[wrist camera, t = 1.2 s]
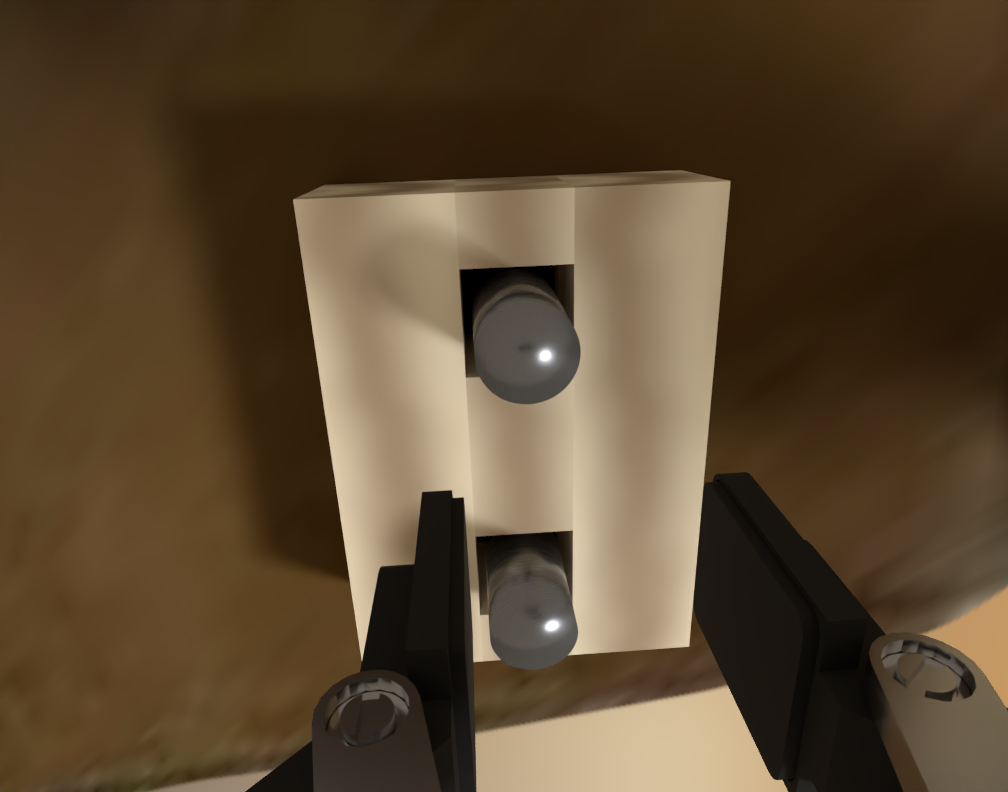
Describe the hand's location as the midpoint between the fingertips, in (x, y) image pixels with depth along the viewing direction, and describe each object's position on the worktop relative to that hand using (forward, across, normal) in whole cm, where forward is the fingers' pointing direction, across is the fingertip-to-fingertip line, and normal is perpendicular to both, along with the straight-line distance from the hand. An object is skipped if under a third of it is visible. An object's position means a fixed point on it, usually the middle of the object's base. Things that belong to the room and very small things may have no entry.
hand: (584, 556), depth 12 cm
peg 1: (+17, 0, 0) cm, 17 cm away
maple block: (+21, 0, +6) cm, 22 cm away
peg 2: (+17, 0, +12) cm, 21 cm away
